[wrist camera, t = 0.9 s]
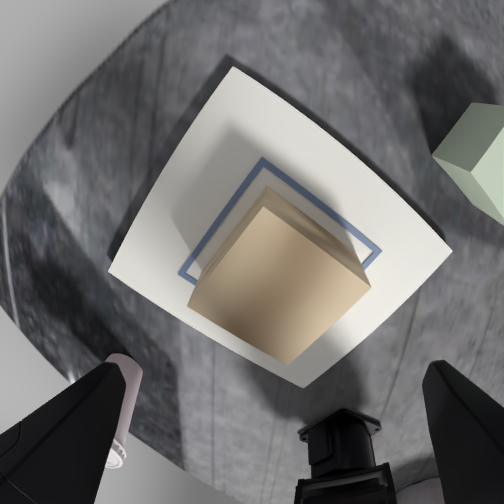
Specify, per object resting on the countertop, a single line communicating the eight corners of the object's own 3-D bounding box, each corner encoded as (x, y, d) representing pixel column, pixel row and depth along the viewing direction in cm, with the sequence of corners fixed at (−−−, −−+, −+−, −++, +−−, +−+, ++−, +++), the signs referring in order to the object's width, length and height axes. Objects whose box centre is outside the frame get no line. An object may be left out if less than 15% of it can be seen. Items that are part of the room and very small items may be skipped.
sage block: (509, 154, 16) (553, 171, 12) (472, 204, 18) (511, 231, 14) (471, 102, 15) (516, 107, 11) (430, 155, 17) (470, 172, 13)
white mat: (446, 245, 20) (453, 251, 19) (303, 380, 26) (303, 389, 25) (235, 68, 16) (232, 65, 15) (113, 265, 23) (107, 272, 22)
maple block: (356, 253, 20) (371, 287, 16) (286, 325, 22) (287, 365, 19) (266, 185, 18) (263, 206, 15) (201, 270, 21) (186, 306, 17)
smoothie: (94, 373, 29) (37, 482, 16) (95, 331, 26) (19, 455, 13) (151, 397, 29) (108, 516, 16) (160, 359, 26) (105, 500, 14)
